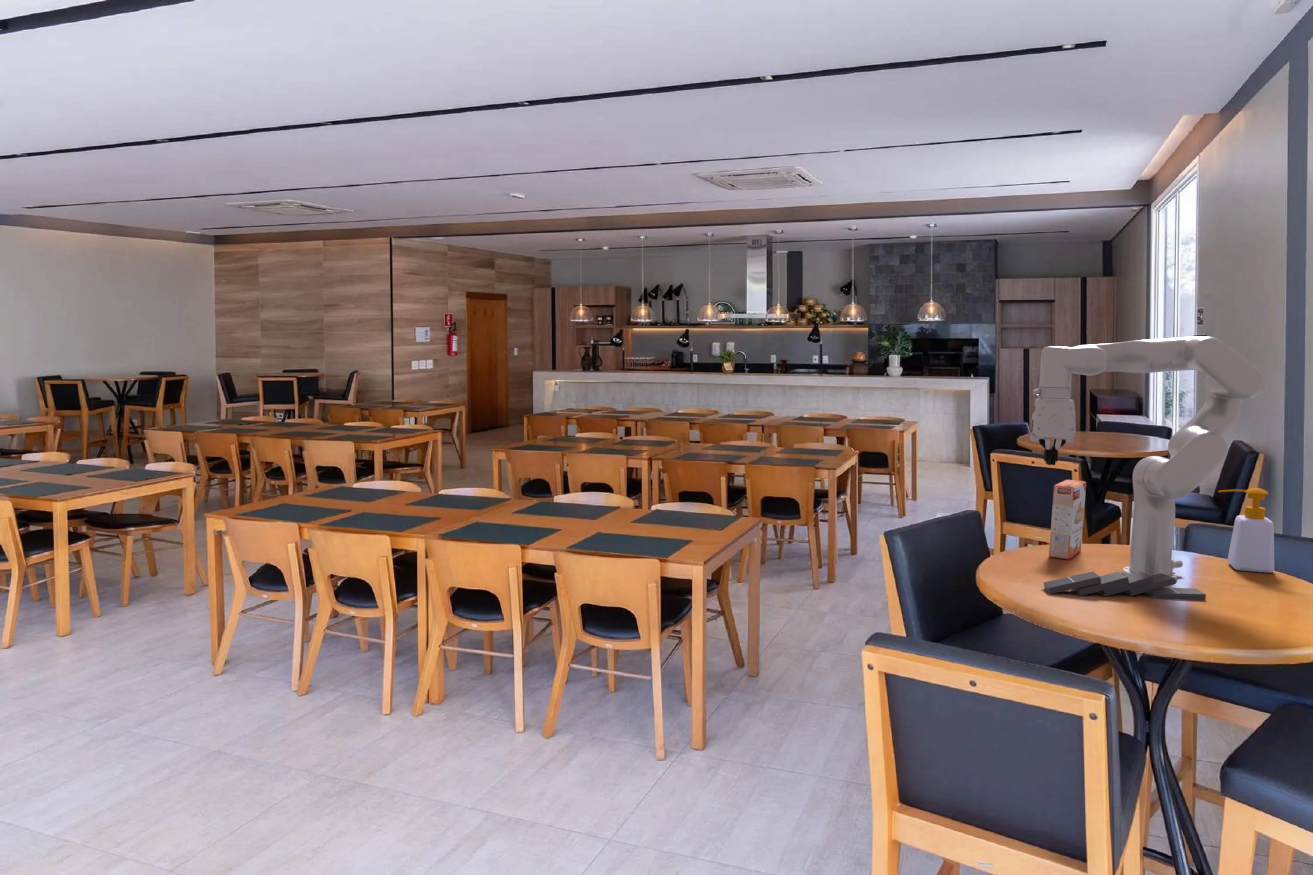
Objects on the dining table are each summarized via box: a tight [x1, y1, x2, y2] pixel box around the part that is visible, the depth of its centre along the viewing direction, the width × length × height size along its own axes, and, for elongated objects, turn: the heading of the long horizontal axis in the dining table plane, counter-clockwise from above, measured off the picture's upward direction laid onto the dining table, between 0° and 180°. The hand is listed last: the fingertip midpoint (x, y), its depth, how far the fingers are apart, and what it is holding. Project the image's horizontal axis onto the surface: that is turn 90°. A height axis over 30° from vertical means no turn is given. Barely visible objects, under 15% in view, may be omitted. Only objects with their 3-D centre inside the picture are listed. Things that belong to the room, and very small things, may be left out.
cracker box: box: [1048, 479, 1087, 561], centre depth 262 cm, size 14×6×21 cm, turn 142°
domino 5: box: [1144, 587, 1207, 601], centre depth 222 cm, size 2×5×12 cm
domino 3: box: [1097, 572, 1154, 597], centre depth 223 cm, size 2×5×12 cm
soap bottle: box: [1218, 487, 1275, 574], centre depth 249 cm, size 10×14×22 cm
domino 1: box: [1043, 571, 1101, 595], centre depth 224 cm, size 2×5×12 cm
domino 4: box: [1121, 573, 1177, 597], centre depth 224 cm, size 2×5×12 cm
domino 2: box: [1071, 571, 1129, 597], centre depth 223 cm, size 2×5×12 cm
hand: (1050, 464), depth 239 cm, fingers closed
